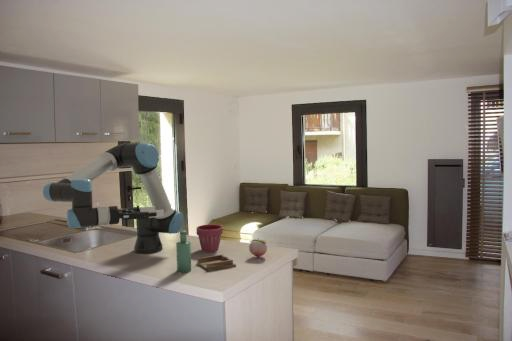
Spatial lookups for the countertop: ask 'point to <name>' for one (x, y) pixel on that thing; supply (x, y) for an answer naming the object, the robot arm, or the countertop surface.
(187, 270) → the green bottle
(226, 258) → the u rest
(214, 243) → the plant pot
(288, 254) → the countertop surface
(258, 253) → the decorative fruit
